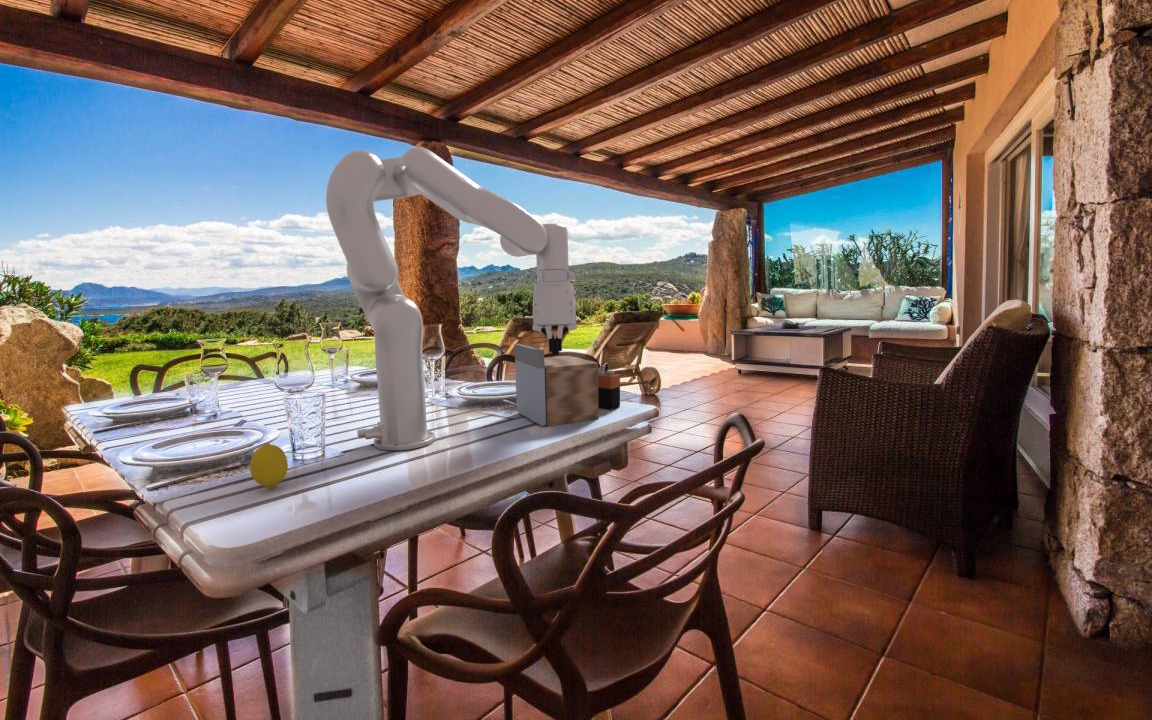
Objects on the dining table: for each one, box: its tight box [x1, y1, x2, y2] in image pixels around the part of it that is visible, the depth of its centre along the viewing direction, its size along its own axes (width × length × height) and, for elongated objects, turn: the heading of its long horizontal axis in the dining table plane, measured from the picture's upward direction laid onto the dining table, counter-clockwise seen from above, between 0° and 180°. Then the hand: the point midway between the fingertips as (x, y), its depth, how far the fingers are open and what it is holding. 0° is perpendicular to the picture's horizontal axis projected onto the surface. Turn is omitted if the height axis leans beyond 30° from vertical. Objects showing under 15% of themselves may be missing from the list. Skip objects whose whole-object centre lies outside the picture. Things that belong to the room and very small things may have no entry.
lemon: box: [249, 442, 289, 490], centre depth 93 cm, size 6×6×8 cm
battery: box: [598, 369, 621, 410], centre depth 148 cm, size 4×7×10 cm, turn 51°
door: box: [514, 343, 546, 426], centre depth 135 cm, size 1×16×18 cm, turn 27°
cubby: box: [544, 355, 600, 427], centre depth 139 cm, size 14×16×14 cm
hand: (555, 354), depth 133 cm, fingers closed
